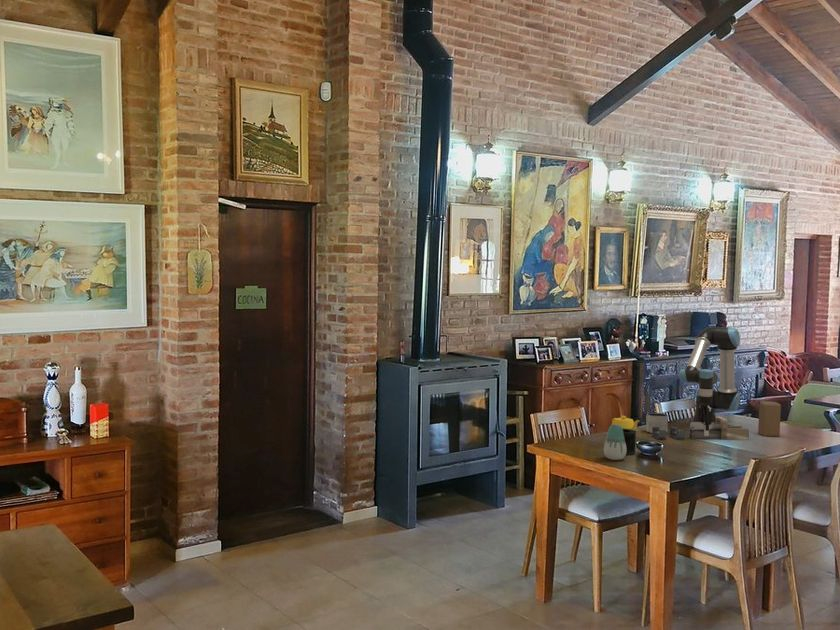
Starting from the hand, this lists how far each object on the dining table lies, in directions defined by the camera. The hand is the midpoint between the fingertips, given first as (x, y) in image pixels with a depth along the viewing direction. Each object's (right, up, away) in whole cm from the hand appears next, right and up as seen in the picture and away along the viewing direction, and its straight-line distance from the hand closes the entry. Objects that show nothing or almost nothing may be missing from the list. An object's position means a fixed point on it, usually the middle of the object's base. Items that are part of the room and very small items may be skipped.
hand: (704, 434), depth 478 cm
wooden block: (+45, -3, +15) cm, 47 cm away
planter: (-24, -1, +15) cm, 28 cm away
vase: (-67, -4, -61) cm, 91 cm away
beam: (+9, -2, +1) cm, 10 cm away
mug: (-59, -3, -44) cm, 74 cm away
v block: (-22, -2, -2) cm, 22 cm away
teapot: (-48, -1, -5) cm, 48 cm away
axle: (+1, +5, 0) cm, 5 cm away
